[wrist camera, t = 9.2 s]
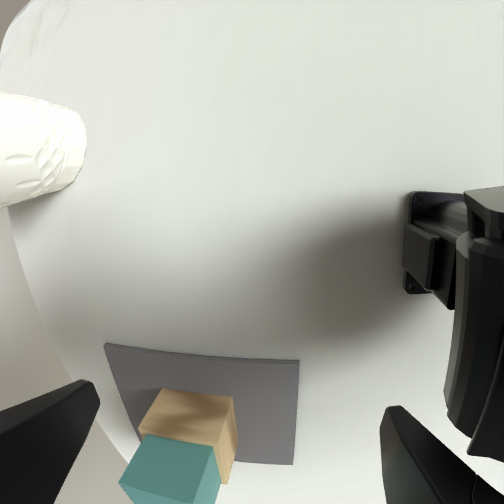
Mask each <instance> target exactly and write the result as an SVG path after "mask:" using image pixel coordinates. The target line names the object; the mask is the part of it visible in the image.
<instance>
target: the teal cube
mask: <svg viewBox="0 0 504 504" xmlns="http://www.w3.org/2000/svg"><path fill="white" fill-rule="evenodd" d="M119 484H120V485H121V487H122V488H123V490H124V491H125V492H126V494H127V495H128V496H129V497H130V499H131V500H132V501H133V503H134V504H215V501H216V498H217V494H218V491H219V487H220V484H221V477H220V473H219V469H218V465H217V461H216V457H215V453H214V449H213V446H208V445H202V444H196V443H190V442H184V441H179V440H174V439H169V438H164V437H160V436H156V435H151V434H146V435H145V437H144V439H143V441H142V442H141V444H140V446H139V447H138V449H137V451H136V453H135V454H134V456H133V458H132V460H131V461H130V463H129V465H128V467H127V468H126V470H125V472H124V474H123V476H122V477H121V479H120V480H119Z"/></svg>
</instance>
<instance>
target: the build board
mask: <svg viewBox="0 0 504 504" xmlns="http://www.w3.org/2000/svg"><path fill="white" fill-rule="evenodd" d="M104 349H105V352H106V355H107V358H108V362H109V365H110V368H111V371H112V373H113V376H114V379H115V382H116V385H117V387H118V390H119V393H120V395H121V398H122V401H123V403H124V406H125V408H126V410H127V413H128V415H129V418H130V420H131V422H132V425H133V427H134V429H135V432H136V434H137V436H138V438H139V440H140V442H142V441H143V438H142V436H141V434H140V432H139V429H138V426H139V425H140V423H141V422H142V420H143V418H144V417H145V415H146V414H147V412H148V410H149V409H150V407H151V405H152V404H153V402H154V401H155V399H156V397H157V396H158V394H159V392H160V391H161V389H162V388H167V389H174V390H180V391H187V392H195V393H203V394H211V395H221V396H232V397H233V404H234V412H235V420H236V428H237V435H238V445H237V449H236V453H235V457H234V461H239V462H249V463H261V464H279V465H293V457H294V445H295V431H296V416H297V399H298V379H299V360H262V359H240V358H225V357H211V356H200V355H189V354H180V353H171V352H162V351H155V350H147V349H140V348H133V347H127V346H121V345H115V344H109V343H106V344H105V345H104Z"/></svg>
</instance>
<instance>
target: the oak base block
mask: <svg viewBox="0 0 504 504" xmlns="http://www.w3.org/2000/svg"><path fill="white" fill-rule="evenodd" d="M138 429H139V432H140V434H141V436H142V438H143V439H144V437H145V435H146V434H151V435H156V436H160V437H164V438H169V439H174V440H179V441H184V442H190V443H196V444H202V445H208V446H213V449H214V453H215V457H216V461H217V465H218V469H219V473H220V477H221V484H227V483H228V479H229V476H230V472H231V468H232V464H233V461H234V457H235V453H236V449H237V445H238V435H237V428H236V420H235V412H234V404H233V397H232V396H221V395H211V394H203V393H195V392H187V391H180V390H174V389H167V388H162V389H161V391H160V392H159V394H158V396H157V397H156V399H155V401H154V402H153V404H152V405H151V407H150V409H149V410H148V412H147V414H146V415H145V417H144V418H143V420H142V422H141V423H140V425H139V426H138Z"/></svg>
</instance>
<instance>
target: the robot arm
mask: <svg viewBox="0 0 504 504" xmlns="http://www.w3.org/2000/svg"><path fill="white" fill-rule="evenodd" d="M416 196H419V197H420V201H419V202H418V203H416V202H415V197H416ZM402 266H403V267H404V268H405V273H404V282H403V288H404V290H405V291H406V292H407V293H408V294H426V293H433V294H434V295H435V296H436V297H437V298H438V299H439V300H440V301H441V302H442V303H443V304H444V305H445V306H446V307H447V309H449V310H455V312H454V324H453V334H452V342H451V350H450V357H449V363H448V370H447V375H446V381H445V386H444V391H443V392H444V396H445V401H446V406H447V408H448V412H447V416H448V418H449V419H450V421H451V422H452V423H453V425H454V426H455V427H456V428H457V429H458V430H460V431H461V432H462V433H463V434H465V435H466V436H468V437H469V438H471V439H472V440H471V442H470V444H469V446H468V449H467V454H468V455H471V456H480V457H489V458H492V459H495V460H498V461H501V462H504V186H500V187H492V188H485V189H477V190H470V191H464V194H458V193H444V192H427V191H414V192H412V193H411V195H410V197H409V220H408V223H407V224H406V226H405V229H404V245H403V258H402ZM411 283H413V287H412V288H408V287H409V285H410V284H411ZM99 406H100V399H99V397H98V394H97V392H96V390H95V387H94V385H93V383H92V382H90V381H87V380H83V379H80V380H78V381H75V382H73V383H71V384H68V385H66V386H64V387H61V388H59V389H56V390H54V391H51V392H49V393H46V394H44V395H41V396H39V397H36V398H34V399H31V400H29V401H26V402H24V403H21V404H18V405H16V406H13V407H10V408H8V409H5V410H2V411H0V504H54V502H55V500H56V497H57V495H58V493H59V491H60V489H61V487H62V485H63V483H64V481H65V479H66V477H67V475H68V473H69V471H70V469H71V467H72V465H73V463H74V461H75V460H76V458H77V455H78V454H79V452H80V450H81V448H82V446H83V444H84V442H85V440H86V438H87V436H88V433H89V431H90V428H91V426H92V423H93V421H94V418H95V416H96V413H97V411H98V409H99ZM380 444H381V460H382V477H383V484H384V490H385V496H386V502H387V504H504V495H502V494H501V493H499V492H498V491H497V490H495V489H494V488H493V487H492V486H490V485H489V484H488V483H487V482H486V481H484V480H483V479H482V478H481V477H480V476H479V475H476V473H475V472H474V471H473V470H472V469H471V468H470V467H469V466H467V465H466V464H465V463H464V462H463V461H462V460H461V459H460V458H459V457H457V456H456V455H455V454H454V453H453V452H452V451H451V450H450V449H448V448H447V447H446V446H445V445H444V444H443V443H442V442H441V441H440V440H439V439H437V438H436V437H435V436H434V435H433V434H432V433H431V432H430V431H429V430H427V429H426V428H425V427H424V426H423V425H422V424H421V423H420V422H419V421H418V420H416V419H415V418H414V417H413V416H412V415H411V414H410V413H409V412H408V411H407V410H405V409H404V408H403V407H402V406H400V405H398V406H389V407H387V408H386V410H385V413H384V416H383V419H382V422H381V425H380Z"/></svg>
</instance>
